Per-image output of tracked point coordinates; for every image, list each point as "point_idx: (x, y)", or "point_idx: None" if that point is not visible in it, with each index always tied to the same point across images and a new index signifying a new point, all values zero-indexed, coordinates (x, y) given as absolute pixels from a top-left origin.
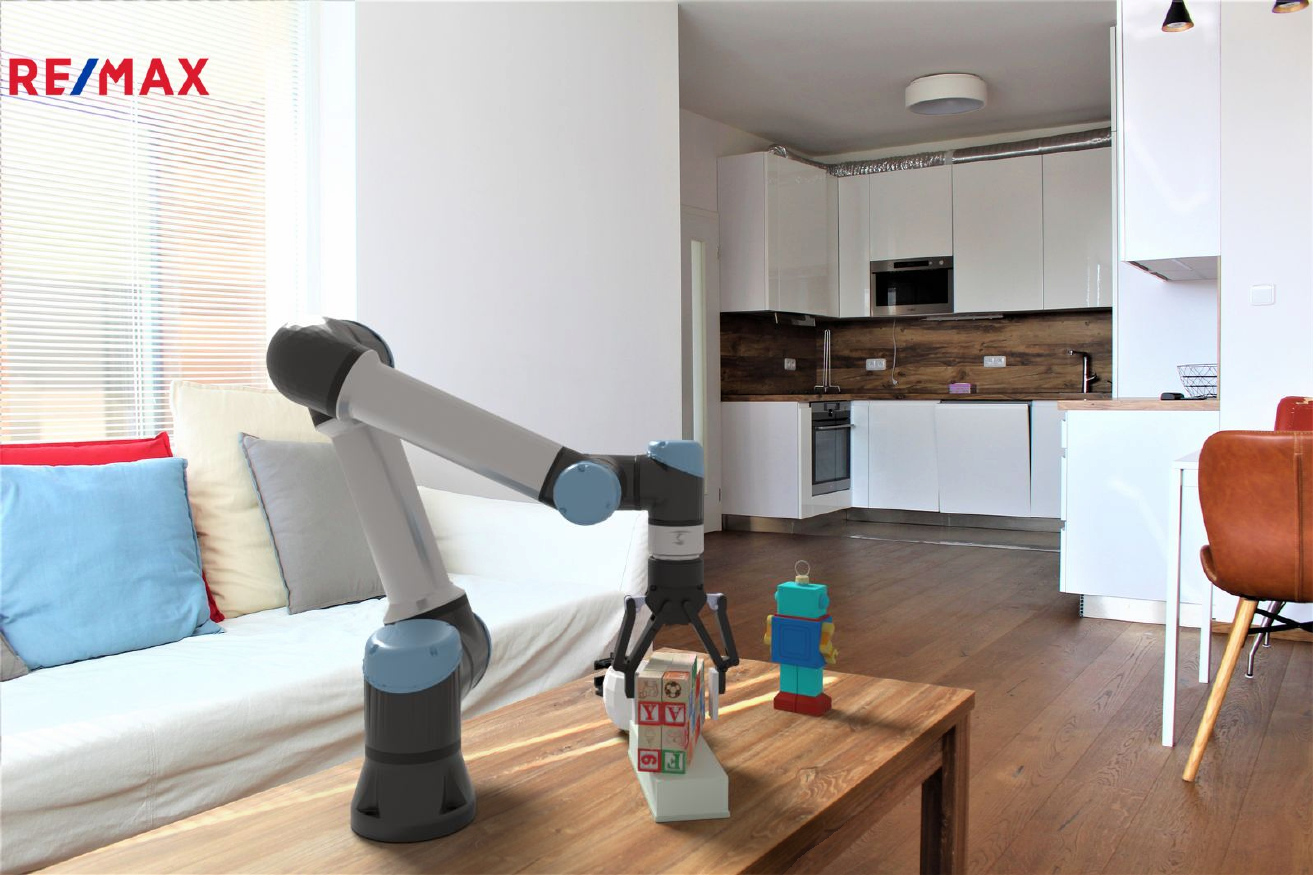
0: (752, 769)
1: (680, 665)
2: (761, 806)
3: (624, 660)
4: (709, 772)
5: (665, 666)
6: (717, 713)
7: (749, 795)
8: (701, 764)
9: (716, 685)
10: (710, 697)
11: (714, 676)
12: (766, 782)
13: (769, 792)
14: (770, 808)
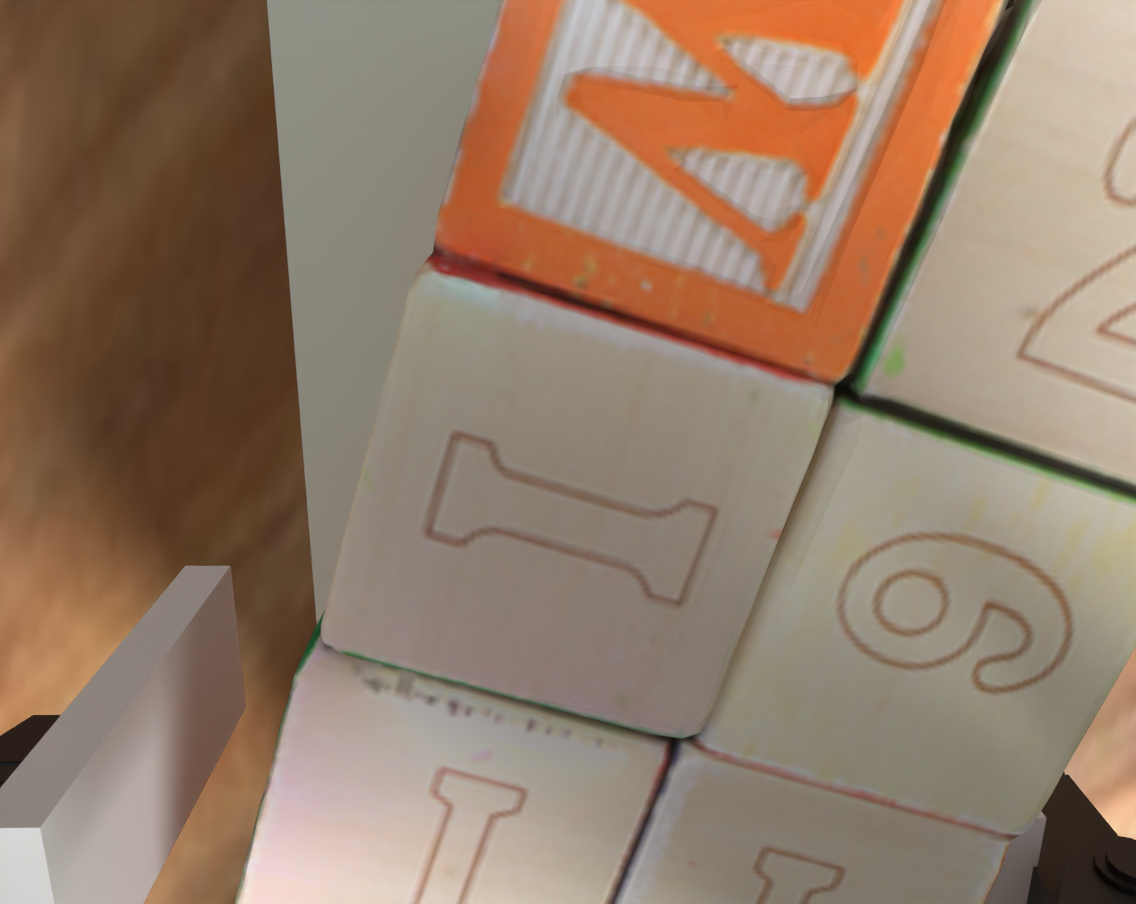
0: (89, 591)
1: (528, 628)
2: (106, 75)
3: None
4: (380, 20)
5: (776, 665)
6: (170, 589)
7: (154, 245)
8: (411, 191)
9: (69, 735)
10: (183, 737)
11: (43, 801)
12: (34, 409)
13: (35, 269)
14: (58, 37)
